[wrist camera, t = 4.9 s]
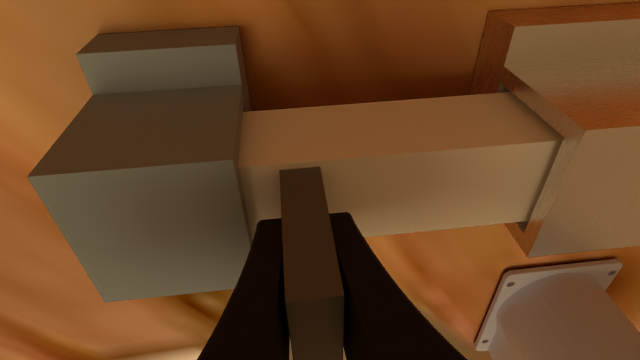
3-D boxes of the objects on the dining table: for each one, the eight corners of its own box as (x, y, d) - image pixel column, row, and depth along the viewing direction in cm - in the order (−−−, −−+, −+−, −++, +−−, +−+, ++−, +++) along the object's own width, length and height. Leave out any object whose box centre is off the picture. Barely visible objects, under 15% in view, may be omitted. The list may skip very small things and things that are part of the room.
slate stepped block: (238, 26, 14) (222, 110, 9) (263, 193, 19) (262, 310, 14) (97, 34, 14) (-4, 126, 9) (160, 202, 19) (120, 326, 14)
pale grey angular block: (532, 88, 15) (732, 245, 8) (506, 164, 17) (650, 334, 10) (150, 116, 14) (51, 319, 7) (175, 193, 16) (116, 400, 9)
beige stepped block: (705, -2, 15) (927, 58, 10) (616, 161, 20) (735, 257, 15) (488, 11, 15) (607, 81, 10) (450, 176, 20) (516, 282, 15)
